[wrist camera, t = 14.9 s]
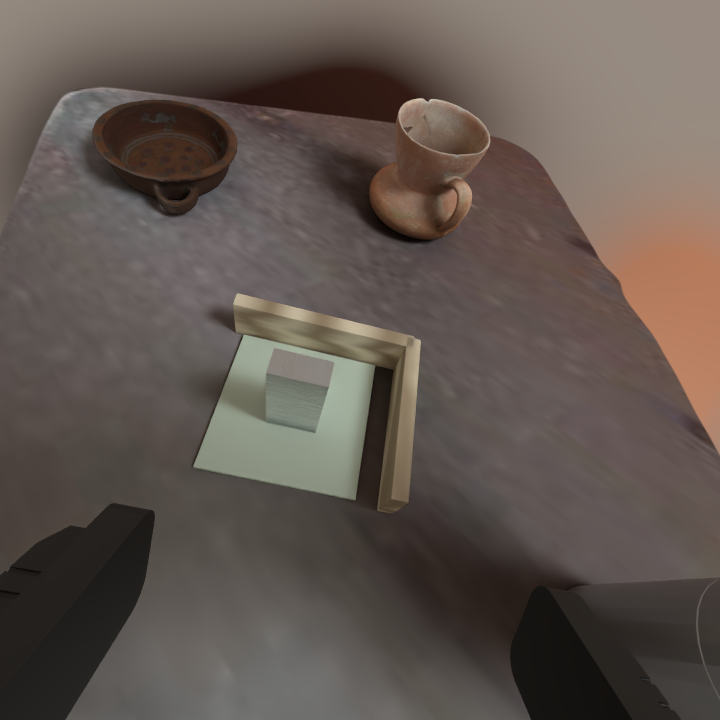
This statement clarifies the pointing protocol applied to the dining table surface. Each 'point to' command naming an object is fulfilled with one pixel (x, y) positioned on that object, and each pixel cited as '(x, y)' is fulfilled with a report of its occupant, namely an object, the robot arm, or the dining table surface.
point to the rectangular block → (296, 389)
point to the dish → (166, 149)
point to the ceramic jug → (429, 169)
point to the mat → (284, 444)
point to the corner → (357, 346)
